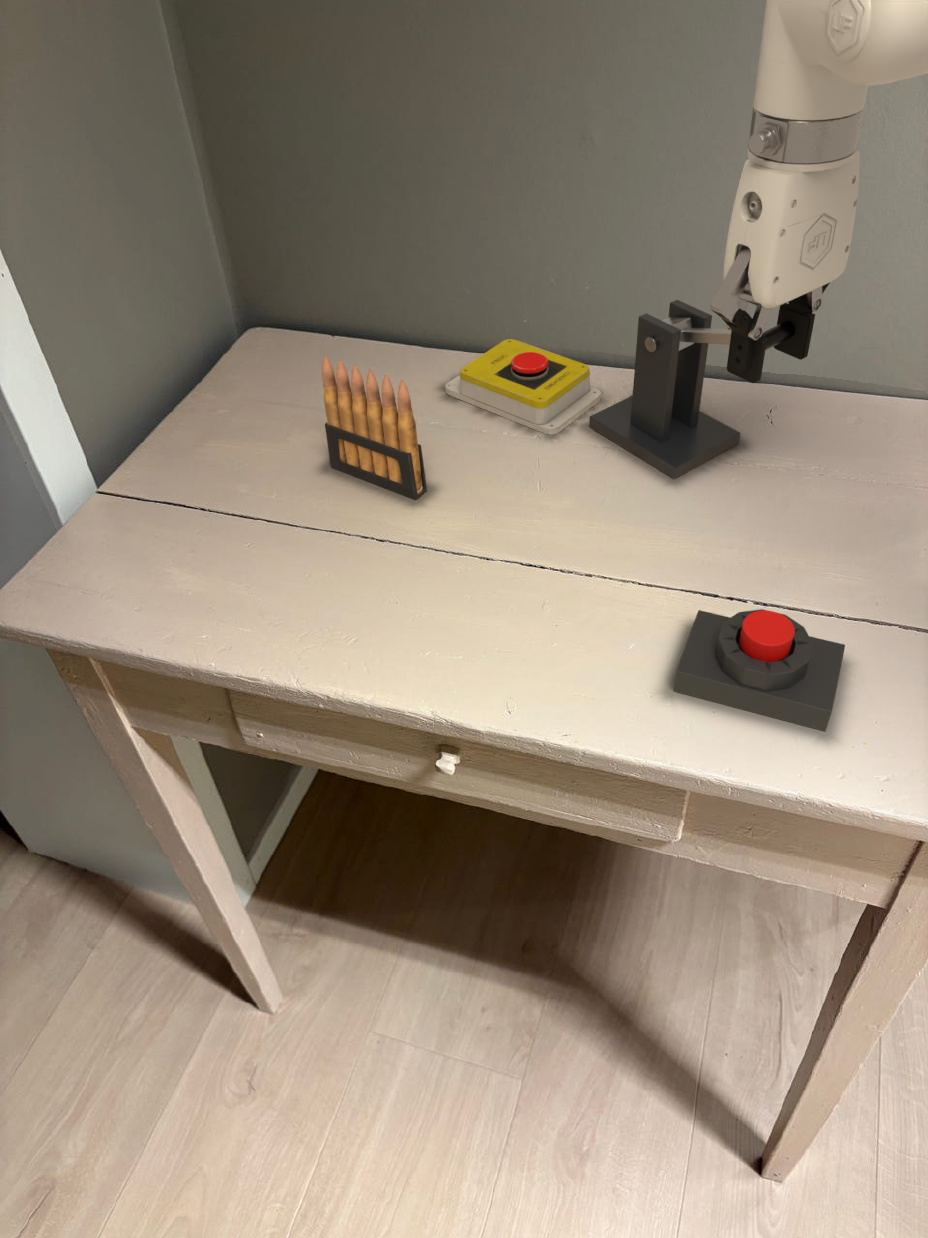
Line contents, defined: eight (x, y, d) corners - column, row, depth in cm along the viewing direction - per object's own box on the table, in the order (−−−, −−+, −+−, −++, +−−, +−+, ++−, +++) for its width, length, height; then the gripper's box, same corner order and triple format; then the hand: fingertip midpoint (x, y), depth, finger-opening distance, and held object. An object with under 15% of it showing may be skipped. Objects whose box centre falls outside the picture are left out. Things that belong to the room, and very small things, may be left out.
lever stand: (739, 443, 94) (760, 322, 86) (674, 479, 91) (689, 356, 82) (652, 395, 102) (663, 279, 93) (588, 426, 98) (593, 308, 89)
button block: (839, 664, 73) (851, 627, 70) (825, 731, 68) (837, 694, 66) (695, 629, 76) (701, 592, 74) (673, 691, 72) (678, 654, 69)
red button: (794, 634, 70) (798, 617, 69) (785, 667, 68) (790, 650, 67) (744, 622, 72) (748, 605, 70) (734, 655, 69) (738, 638, 68)
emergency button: (553, 398, 94) (438, 355, 101) (553, 436, 97) (441, 391, 104) (607, 359, 99) (493, 320, 106) (604, 396, 102) (494, 356, 109)
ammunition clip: (330, 467, 95) (310, 357, 87) (342, 457, 96) (323, 348, 88) (416, 500, 91) (404, 387, 82) (427, 490, 92) (417, 378, 83)
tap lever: (796, 343, 81) (794, 315, 80) (756, 363, 79) (753, 334, 78) (683, 337, 91) (679, 312, 90) (645, 354, 89) (641, 329, 88)
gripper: (764, 175, 63) (731, 417, 75) (922, 116, 70) (868, 346, 82) (681, 151, 68) (662, 383, 80) (836, 98, 75) (797, 319, 87)
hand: (767, 362), depth 81 cm, fingers closed on tap lever, 5 cm apart
